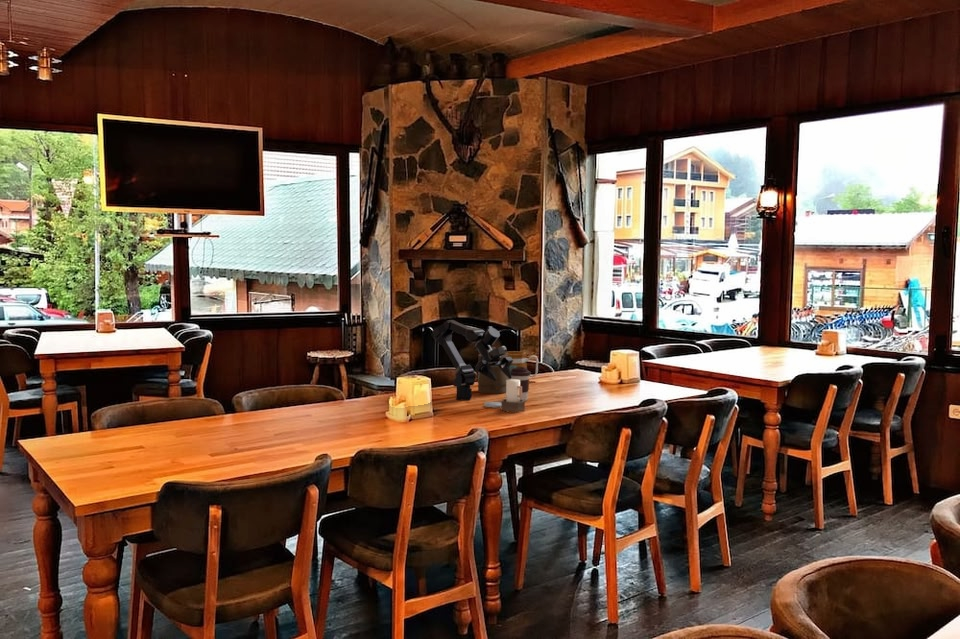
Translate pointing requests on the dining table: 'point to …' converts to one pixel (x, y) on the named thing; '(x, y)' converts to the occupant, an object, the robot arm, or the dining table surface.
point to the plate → (493, 404)
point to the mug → (521, 360)
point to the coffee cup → (522, 379)
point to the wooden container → (490, 385)
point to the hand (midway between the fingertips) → (503, 379)
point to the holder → (513, 406)
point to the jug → (513, 390)
